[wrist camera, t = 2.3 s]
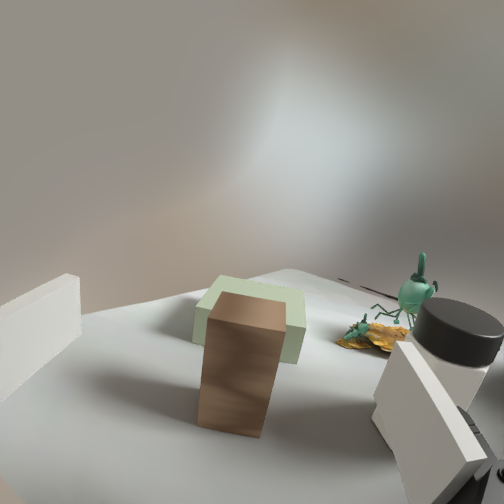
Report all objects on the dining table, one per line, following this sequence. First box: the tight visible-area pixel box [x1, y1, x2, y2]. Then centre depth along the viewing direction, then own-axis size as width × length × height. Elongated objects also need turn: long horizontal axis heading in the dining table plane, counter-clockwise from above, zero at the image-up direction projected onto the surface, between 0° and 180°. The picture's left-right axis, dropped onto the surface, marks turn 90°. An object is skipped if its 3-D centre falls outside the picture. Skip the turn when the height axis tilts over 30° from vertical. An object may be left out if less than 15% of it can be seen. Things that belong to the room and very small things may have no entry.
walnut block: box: [197, 291, 286, 438], centre depth 23 cm, size 5×5×10 cm
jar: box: [371, 298, 504, 450], centre depth 22 cm, size 9×8×12 cm
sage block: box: [192, 275, 306, 364], centre depth 39 cm, size 12×12×5 cm
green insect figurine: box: [336, 252, 438, 352], centre depth 39 cm, size 10×18×15 cm, turn 81°
